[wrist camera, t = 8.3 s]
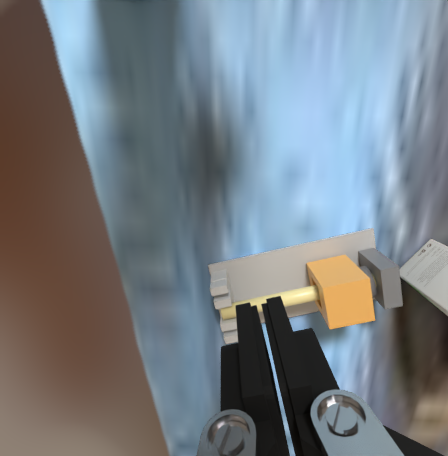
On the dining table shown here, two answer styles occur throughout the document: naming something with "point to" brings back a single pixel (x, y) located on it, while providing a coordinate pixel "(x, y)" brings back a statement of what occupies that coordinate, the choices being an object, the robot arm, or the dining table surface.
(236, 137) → the dining table surface
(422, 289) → the skincare box
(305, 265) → the rail
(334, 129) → the dining table surface
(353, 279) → the sleeve
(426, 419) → the dining table surface
